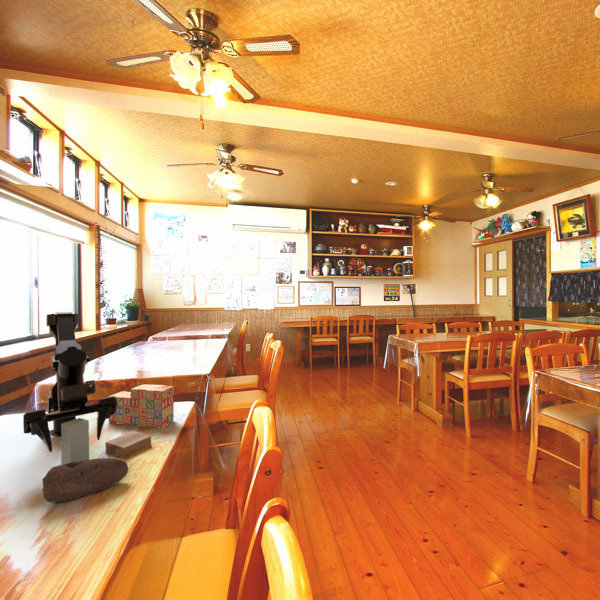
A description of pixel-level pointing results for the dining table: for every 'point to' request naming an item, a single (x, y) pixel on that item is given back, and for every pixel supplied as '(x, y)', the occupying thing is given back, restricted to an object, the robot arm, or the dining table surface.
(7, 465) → the dining table surface
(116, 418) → the stack of blocks
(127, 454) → the base block
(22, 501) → the dining table surface
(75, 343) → the robot arm
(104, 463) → the perforated stone tool
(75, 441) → the column
